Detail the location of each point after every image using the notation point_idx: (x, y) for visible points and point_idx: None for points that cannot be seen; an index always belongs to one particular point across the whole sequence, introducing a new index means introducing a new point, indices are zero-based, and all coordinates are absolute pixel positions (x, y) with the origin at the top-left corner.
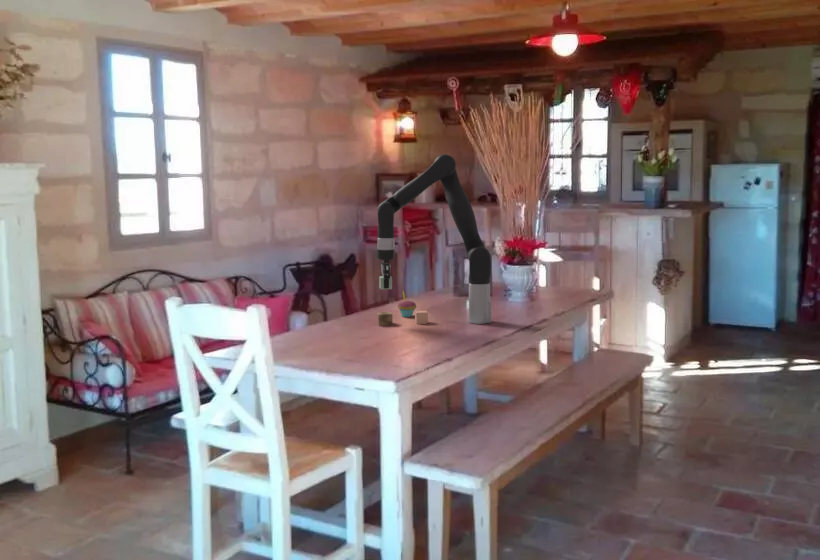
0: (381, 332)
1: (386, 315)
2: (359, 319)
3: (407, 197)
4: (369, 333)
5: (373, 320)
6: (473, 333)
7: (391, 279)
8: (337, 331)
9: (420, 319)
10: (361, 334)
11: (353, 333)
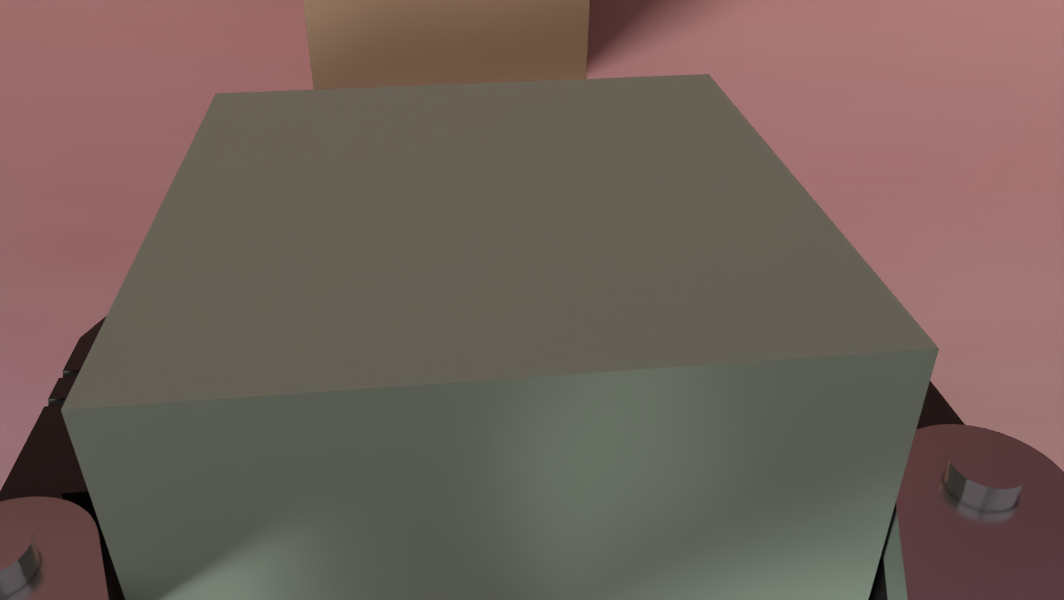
0: (1060, 78)
1: (586, 14)
2: (2, 341)
3: None
4: (1044, 226)
5: (79, 153)
6: None
7: (866, 311)
8: None
9: None
10: (1054, 310)
11: (956, 386)
